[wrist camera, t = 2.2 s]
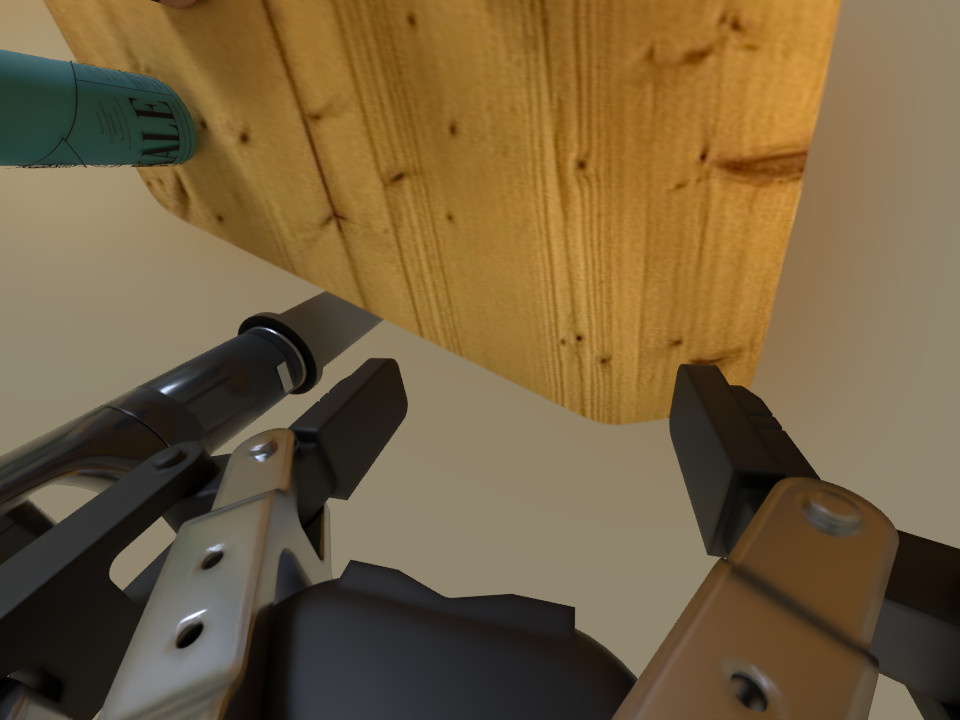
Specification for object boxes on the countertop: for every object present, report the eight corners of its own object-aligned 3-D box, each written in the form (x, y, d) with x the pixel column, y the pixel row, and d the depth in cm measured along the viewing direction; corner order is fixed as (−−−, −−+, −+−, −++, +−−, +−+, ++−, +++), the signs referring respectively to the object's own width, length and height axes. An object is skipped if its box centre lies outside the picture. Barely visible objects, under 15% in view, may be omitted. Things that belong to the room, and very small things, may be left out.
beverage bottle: (136, 89, 30) (-415, 1, 14) (189, 68, 28) (-379, -64, 12) (178, 172, 33) (-233, 184, 17) (228, 159, 31) (-179, 157, 15)
